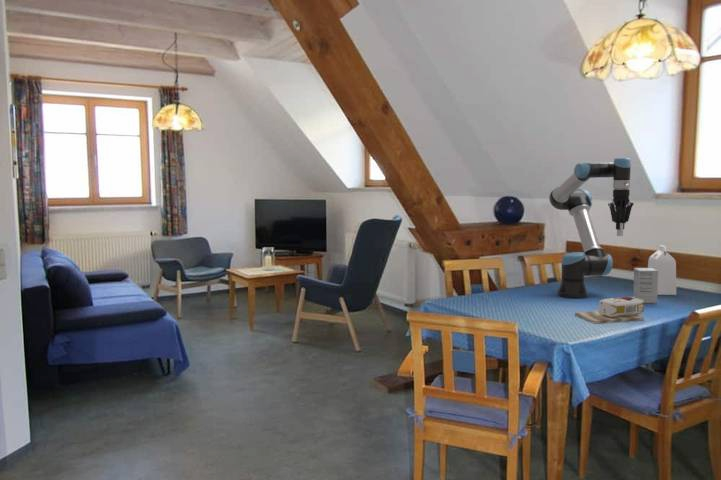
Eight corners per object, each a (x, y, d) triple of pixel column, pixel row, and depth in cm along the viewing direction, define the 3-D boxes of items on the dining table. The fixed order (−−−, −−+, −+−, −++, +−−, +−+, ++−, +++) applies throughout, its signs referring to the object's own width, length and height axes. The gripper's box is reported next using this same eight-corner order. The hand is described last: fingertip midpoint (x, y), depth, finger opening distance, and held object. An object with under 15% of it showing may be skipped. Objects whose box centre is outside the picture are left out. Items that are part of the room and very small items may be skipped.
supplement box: (657, 303, 281) (658, 270, 279) (637, 303, 283) (639, 270, 281) (651, 299, 291) (652, 267, 289) (632, 299, 292) (633, 267, 291)
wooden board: (620, 312, 265) (621, 309, 265) (643, 320, 250) (643, 317, 250) (574, 315, 261) (575, 312, 261) (595, 323, 245) (595, 320, 245)
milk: (676, 294, 301) (678, 247, 298) (653, 294, 303) (655, 247, 300) (667, 290, 313) (669, 244, 310) (645, 290, 315) (647, 244, 312)
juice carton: (645, 315, 254) (610, 318, 248) (631, 311, 262) (597, 314, 256) (646, 299, 253) (611, 302, 247) (631, 295, 261) (597, 298, 256)
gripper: (614, 189, 273) (612, 237, 276) (638, 188, 276) (636, 236, 278) (604, 189, 281) (603, 235, 283) (628, 188, 283) (626, 234, 286)
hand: (619, 235), depth 281 cm, fingers closed
